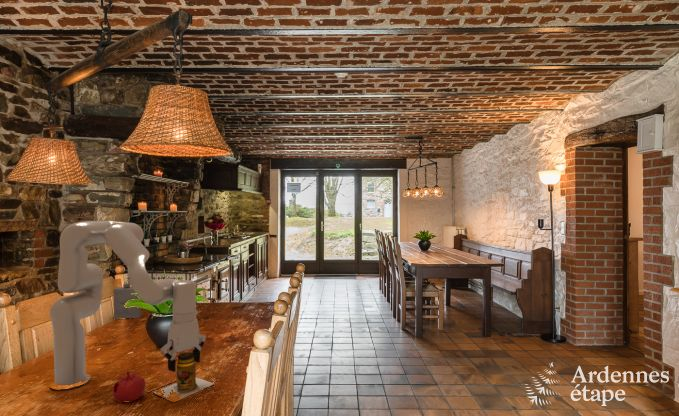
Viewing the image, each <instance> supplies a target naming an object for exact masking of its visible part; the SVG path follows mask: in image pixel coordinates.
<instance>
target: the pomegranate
mask: <svg viewBox="0 0 679 416" xmlns="http://www.w3.org/2000/svg"><path fill="white" fill-rule="evenodd" d="M122 375H123V376H124V377H118V378H116V382H115V384H114V385H113V387H112V396H113V398H114V400H115V401H116V402H118V401H119V402H118V403H120V402H124V401H133V402H135V401H137V400H138V399H139V397H140V398H141V397H142V396H143V394H144V393H145V390H146V380H145V378H143V377H141V376H140V375H141V373H139V372H131V371H130V370H128V371H126V374H125V373H123V374H122ZM136 399H137V400H136ZM134 400H135V401H134Z"/></svg>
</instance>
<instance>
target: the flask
mask: <svg viewBox="0 0 679 416" xmlns="http://www.w3.org/2000/svg"><path fill="white" fill-rule="evenodd" d="M131 293H136V292H135V291H134V290H133V288H132V286H131V284H130V282H127V283H123V286H121V287H120V286H119V287H115V288H113V320H118V319H117V318H138V317H141V318H142V307H141V308H137V307H131V308H125V307H124V305H125V303H126V302H127V301H128V300H130V299H139V298H138V297H137V296H135V295H131ZM138 319H139V318H138Z"/></svg>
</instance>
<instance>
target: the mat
mask: <svg viewBox="0 0 679 416" xmlns="http://www.w3.org/2000/svg"><path fill="white" fill-rule="evenodd" d="M196 384H197V385H198V387H199V388H200V390H201V389H204V388H206V387H209V386H211V385H213V384H214V385H215V383H214V382H211V381H207V380H205V379H202V378H199V377H196ZM175 385H177V382H175V383H172V384H170V385H167V386H165V387H162V388H160V389H161V391H162V390H164V392H165V393H163V391H162V393H163V394H164V395H163V396H164V397H166V398H167V397H169V396H170V392H171V393H172V391H171V390H173V392H176V391H175V389H174V387H173V386H175ZM209 388H210V387H209ZM197 391H199V390H196V391H193V392H189V393H185V394H187V395H185V394H181V395H180V396H181V397H180V396H179V398H183V397H185V396H188V395H190V394H192V393H195V392H197ZM153 392H154V393H155V394H156V391H153ZM168 395H169V396H168Z"/></svg>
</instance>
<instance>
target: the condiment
mask: <svg viewBox="0 0 679 416" xmlns="http://www.w3.org/2000/svg"><path fill="white" fill-rule="evenodd" d="M196 371H197V370H196V362H195V361H194V354H193V352H189V351H188V352H181V353H179V354H178V355H177V363H176V379H177V382H176V383H177V385H175V386H173V387H174V389H175V391H176V393H177V394H178V395H180V394H185V393H189V392H193V391H196V390H200V388H199V387H198V385H197V384H196V378H197V377H196Z"/></svg>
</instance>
